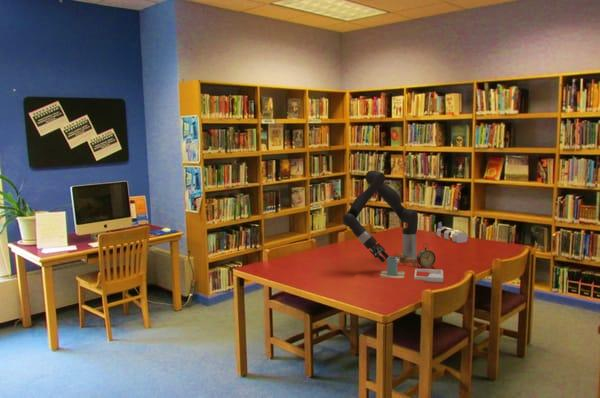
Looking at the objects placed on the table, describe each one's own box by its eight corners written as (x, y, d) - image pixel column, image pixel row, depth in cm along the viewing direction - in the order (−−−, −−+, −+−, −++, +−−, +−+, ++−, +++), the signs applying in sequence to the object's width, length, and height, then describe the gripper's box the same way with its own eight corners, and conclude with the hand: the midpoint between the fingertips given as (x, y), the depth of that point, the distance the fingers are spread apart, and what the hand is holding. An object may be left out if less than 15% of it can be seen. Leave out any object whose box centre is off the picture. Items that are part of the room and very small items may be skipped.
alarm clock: (420, 270, 306) (420, 244, 304) (415, 268, 312) (415, 243, 309) (435, 268, 309) (435, 243, 307) (431, 266, 314) (431, 241, 312)
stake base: (381, 272, 305) (381, 257, 303) (405, 273, 301) (405, 258, 300) (379, 279, 291) (379, 263, 290) (403, 280, 288) (403, 264, 286)
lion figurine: (396, 268, 313) (396, 254, 312) (398, 265, 318) (398, 252, 317) (420, 270, 308) (420, 255, 306) (421, 267, 313) (421, 253, 311)
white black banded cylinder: (436, 237, 396) (436, 221, 394) (447, 235, 399) (447, 219, 398) (456, 243, 373) (456, 226, 371) (467, 242, 376) (467, 225, 374)
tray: (415, 273, 301) (415, 268, 300) (442, 274, 296) (442, 269, 296) (414, 281, 285) (414, 276, 285) (443, 283, 281) (443, 277, 281)
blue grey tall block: (389, 272, 299) (389, 256, 298) (400, 273, 297) (400, 257, 295) (387, 274, 295) (387, 258, 293) (398, 275, 292) (397, 259, 291)
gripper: (367, 238, 292) (387, 258, 289) (374, 233, 305) (393, 252, 301) (359, 246, 295) (378, 266, 292) (366, 241, 308) (384, 260, 304)
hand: (385, 259), depth 297 cm, fingers open, 8 cm apart
